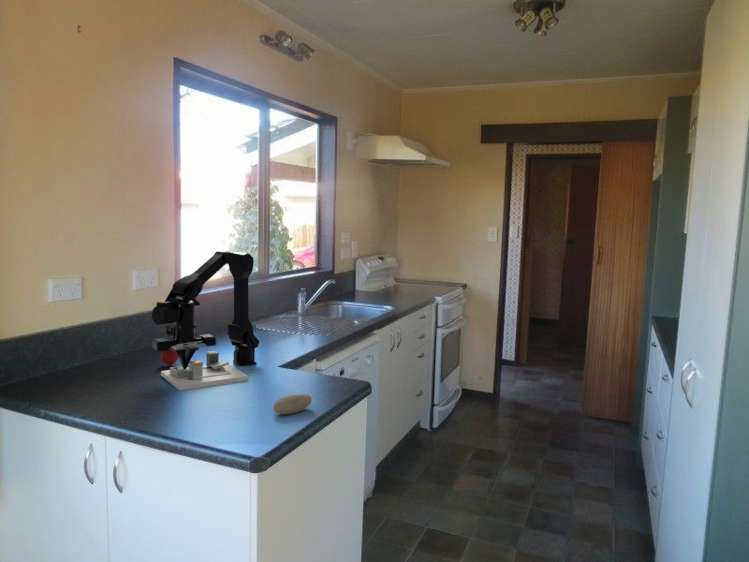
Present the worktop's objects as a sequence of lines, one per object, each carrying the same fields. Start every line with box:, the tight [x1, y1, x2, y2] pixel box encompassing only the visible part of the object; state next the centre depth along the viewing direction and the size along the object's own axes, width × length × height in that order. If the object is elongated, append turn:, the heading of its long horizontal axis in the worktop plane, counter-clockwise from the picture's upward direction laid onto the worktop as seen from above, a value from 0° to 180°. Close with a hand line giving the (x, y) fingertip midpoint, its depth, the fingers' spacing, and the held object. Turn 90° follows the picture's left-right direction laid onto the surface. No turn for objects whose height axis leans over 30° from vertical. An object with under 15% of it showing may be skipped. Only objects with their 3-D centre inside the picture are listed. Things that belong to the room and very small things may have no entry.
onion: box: [160, 348, 179, 367], centre depth 196 cm, size 6×6×8 cm
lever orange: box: [188, 359, 204, 380], centre depth 178 cm, size 3×3×5 cm
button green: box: [177, 367, 190, 372], centre depth 181 cm, size 4×4×2 cm
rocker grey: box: [210, 359, 230, 369], centre depth 189 cm, size 5×4×1 cm
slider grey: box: [205, 350, 220, 368], centre depth 191 cm, size 3×3×5 cm
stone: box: [273, 393, 313, 415], centre depth 156 cm, size 6×6×12 cm
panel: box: [160, 364, 249, 391], centre depth 184 cm, size 22×18×4 cm
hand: (184, 368), depth 181 cm, fingers closed, pressing on button green
